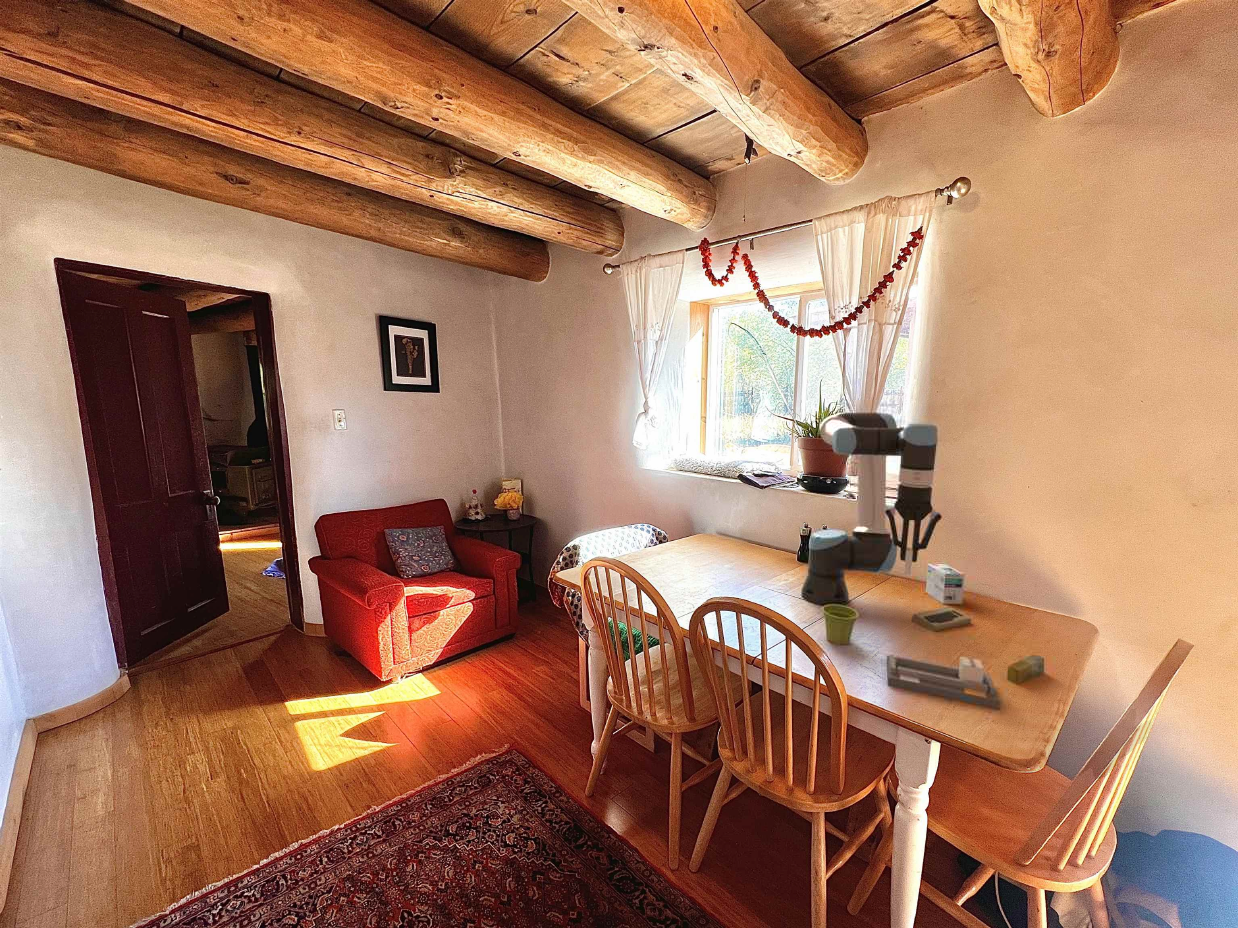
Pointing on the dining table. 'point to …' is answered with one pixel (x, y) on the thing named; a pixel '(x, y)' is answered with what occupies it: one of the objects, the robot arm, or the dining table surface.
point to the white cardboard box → (970, 670)
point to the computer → (941, 619)
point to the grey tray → (940, 681)
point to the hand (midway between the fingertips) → (906, 572)
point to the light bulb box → (945, 583)
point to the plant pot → (839, 623)
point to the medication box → (1026, 669)
